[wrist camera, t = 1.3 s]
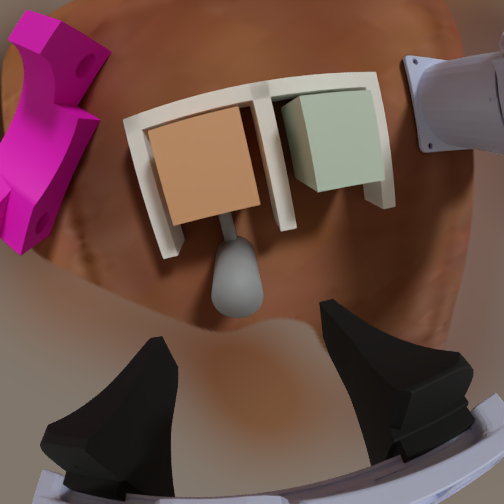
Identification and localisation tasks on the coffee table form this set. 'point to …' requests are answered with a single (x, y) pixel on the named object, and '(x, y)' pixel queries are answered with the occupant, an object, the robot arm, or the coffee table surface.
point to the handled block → (213, 196)
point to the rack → (268, 141)
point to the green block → (334, 139)
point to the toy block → (45, 126)
